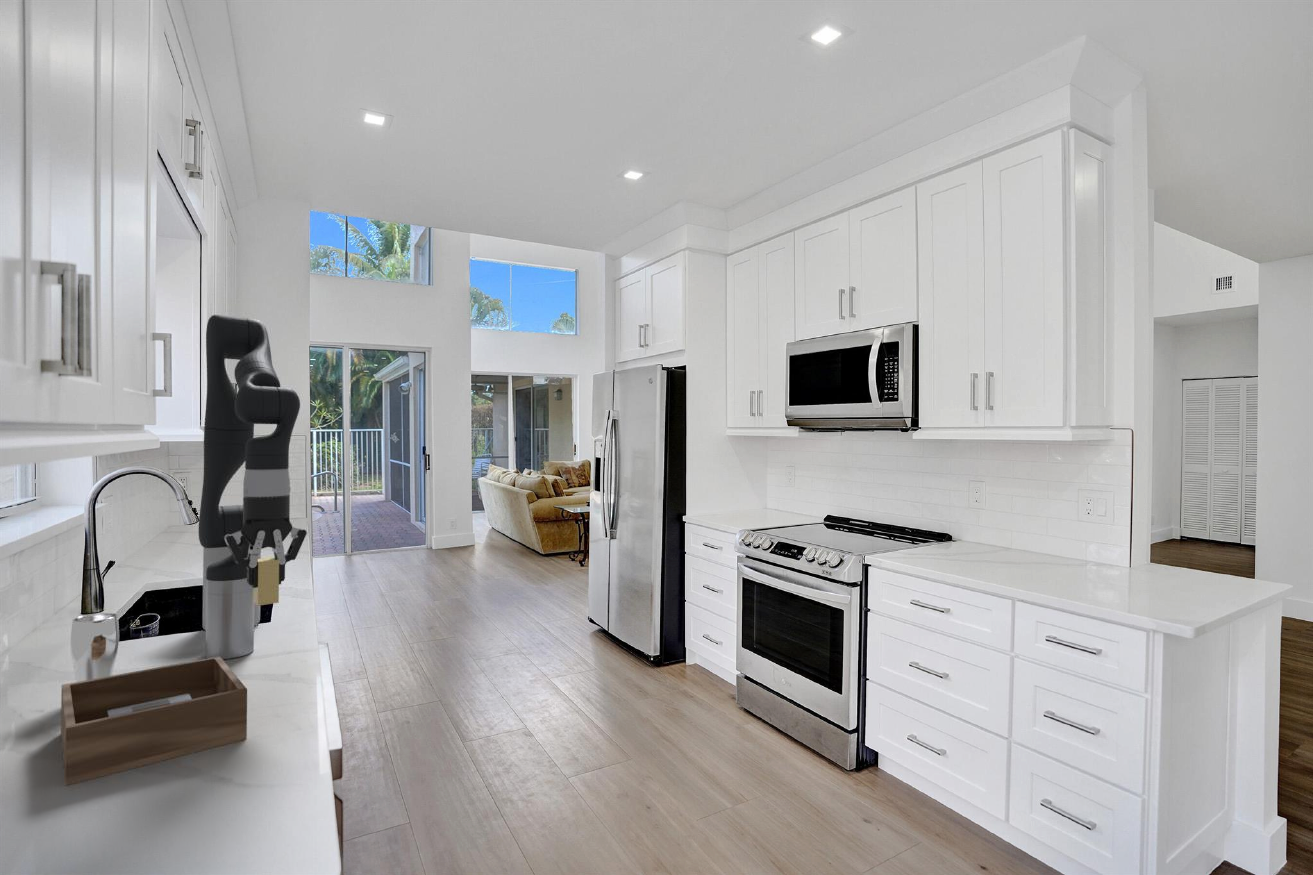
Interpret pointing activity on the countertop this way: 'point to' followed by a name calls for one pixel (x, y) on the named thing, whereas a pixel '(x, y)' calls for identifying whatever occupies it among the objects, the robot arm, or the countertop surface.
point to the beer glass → (94, 645)
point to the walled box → (149, 717)
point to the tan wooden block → (267, 582)
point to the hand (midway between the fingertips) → (265, 585)
